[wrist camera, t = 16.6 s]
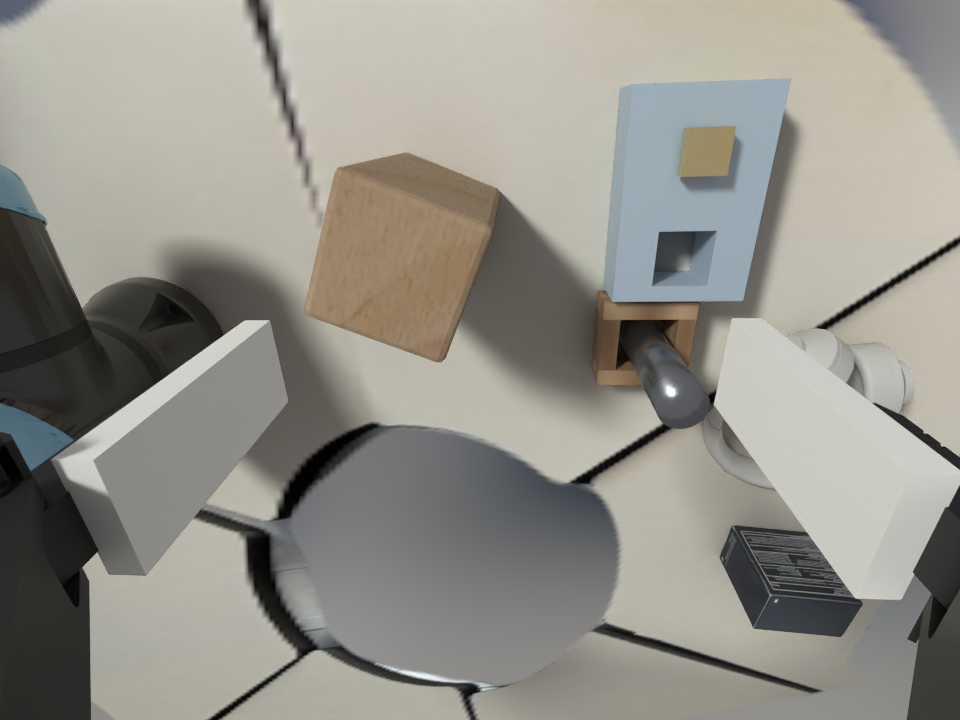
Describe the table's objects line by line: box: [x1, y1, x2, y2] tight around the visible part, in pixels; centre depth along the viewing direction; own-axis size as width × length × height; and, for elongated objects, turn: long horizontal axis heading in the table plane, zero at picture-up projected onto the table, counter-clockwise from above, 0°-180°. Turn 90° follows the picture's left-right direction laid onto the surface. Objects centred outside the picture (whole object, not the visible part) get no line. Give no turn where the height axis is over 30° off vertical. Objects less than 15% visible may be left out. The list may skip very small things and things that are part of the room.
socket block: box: [603, 78, 791, 302], centre depth 44 cm, size 12×18×5 cm, turn 2°
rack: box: [592, 291, 700, 385], centre depth 50 cm, size 9×9×4 cm
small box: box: [720, 526, 863, 637], centre depth 60 cm, size 11×6×10 cm, turn 86°
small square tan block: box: [677, 126, 736, 177], centre depth 41 cm, size 4×4×6 cm
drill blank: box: [619, 320, 710, 429], centre depth 45 cm, size 4×4×16 cm
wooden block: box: [305, 153, 500, 362], centre depth 39 cm, size 10×10×20 cm
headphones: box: [702, 329, 914, 489], centre depth 52 cm, size 18×8×20 cm
